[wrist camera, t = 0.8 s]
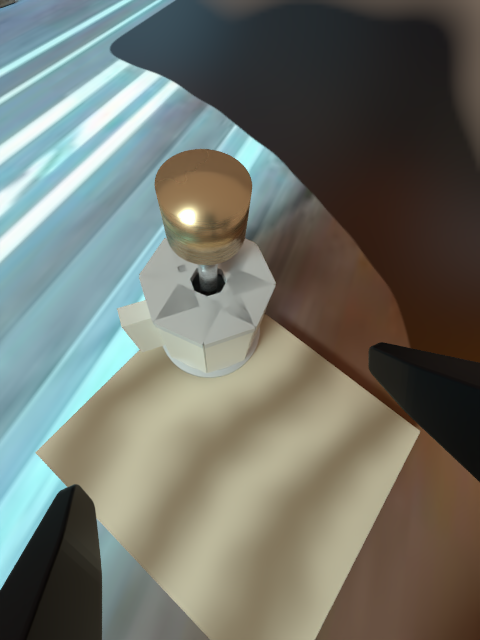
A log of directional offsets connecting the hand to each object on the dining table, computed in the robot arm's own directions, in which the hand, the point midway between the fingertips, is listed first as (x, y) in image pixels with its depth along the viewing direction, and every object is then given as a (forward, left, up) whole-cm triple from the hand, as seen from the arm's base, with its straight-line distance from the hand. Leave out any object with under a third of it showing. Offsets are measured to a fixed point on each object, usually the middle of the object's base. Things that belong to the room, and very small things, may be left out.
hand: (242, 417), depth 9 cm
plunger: (+6, -5, -8) cm, 11 cm away
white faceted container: (+6, -5, -13) cm, 16 cm away
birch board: (-1, 0, -14) cm, 14 cm away
